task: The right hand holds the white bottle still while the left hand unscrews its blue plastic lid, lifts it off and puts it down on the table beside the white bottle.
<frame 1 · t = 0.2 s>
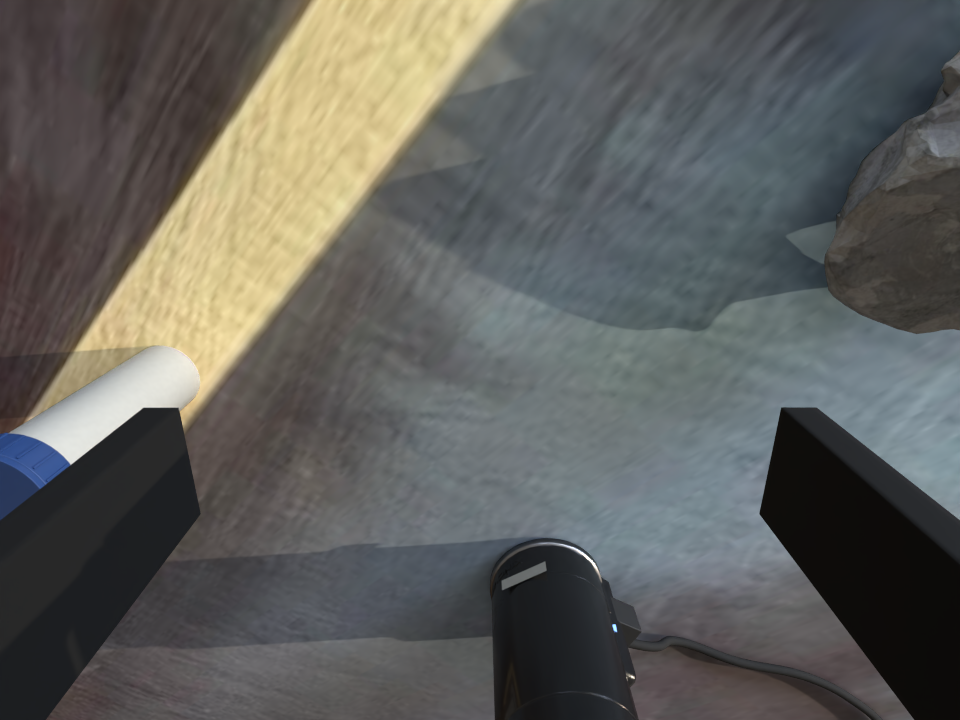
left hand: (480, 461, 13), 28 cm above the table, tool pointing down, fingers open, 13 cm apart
white bottle: (166, 376, 42), on the table
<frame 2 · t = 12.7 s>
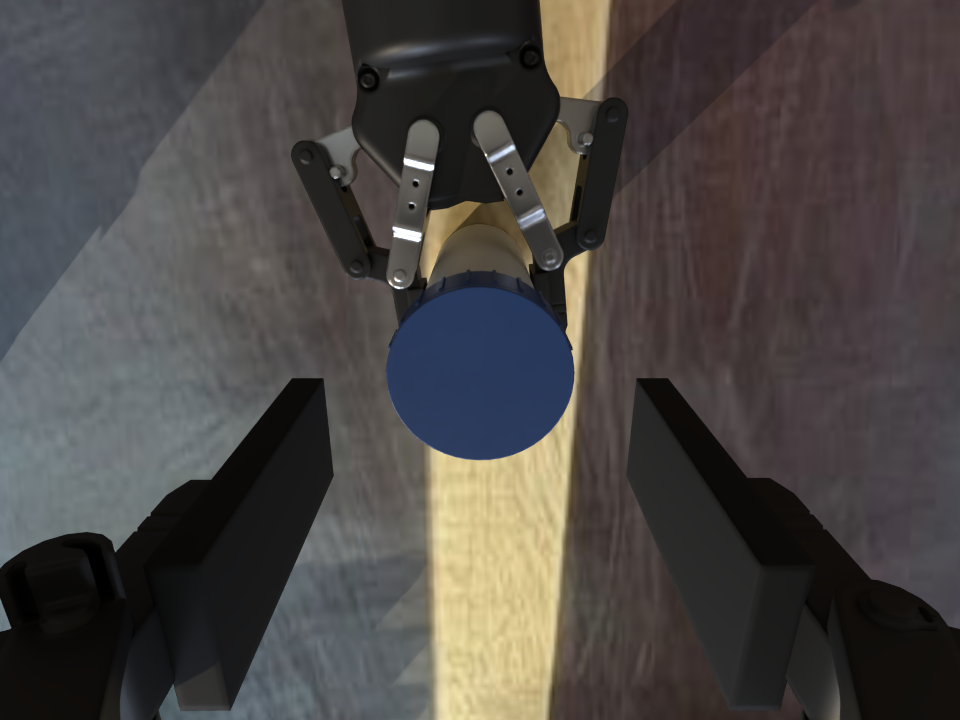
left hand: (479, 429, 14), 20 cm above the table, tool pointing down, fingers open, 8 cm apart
right hand: (486, 350, 27), fingers closed on white bottle, 5 cm apart
lid: (480, 374, 18), point 16 cm above the table, screwed on, not yet turned
white bottle: (479, 267, 32), on the table, touching right hand
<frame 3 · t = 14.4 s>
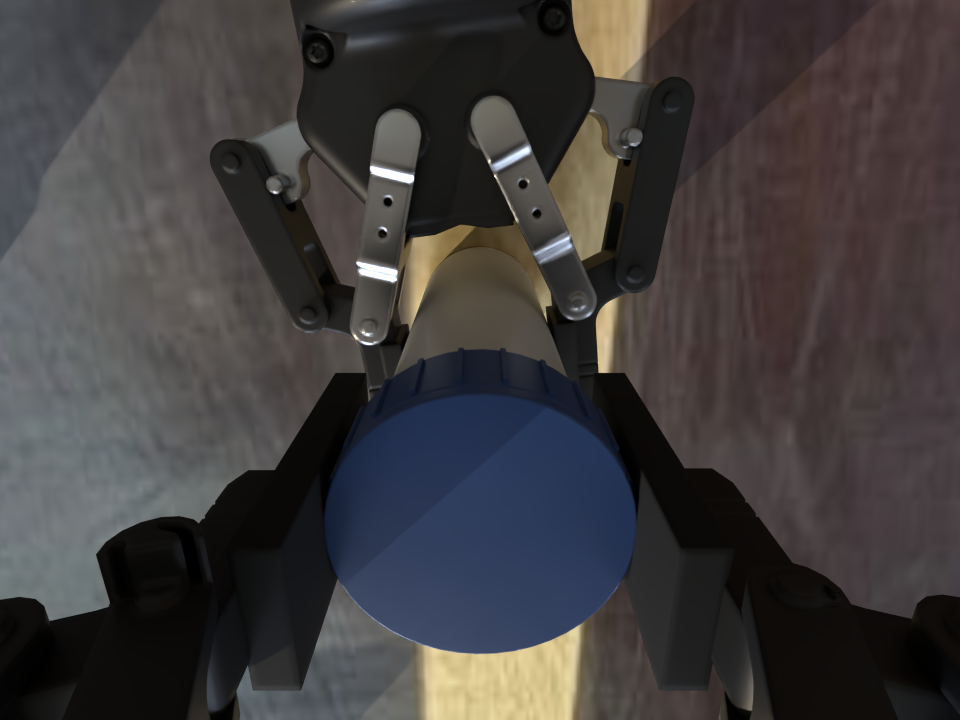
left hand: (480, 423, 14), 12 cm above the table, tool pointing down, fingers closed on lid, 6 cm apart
right hand: (488, 421, 20), fingers closed on white bottle, 5 cm apart
lid: (480, 524, 11), point 16 cm above the table, screwed on, not yet turned, touching left hand
white bottle: (480, 301, 26), on the table, touching right hand
when the left hand's fingers open (12 cm above the table, at t = 15.8 s): lid stays where it is, point 16 cm above the table.
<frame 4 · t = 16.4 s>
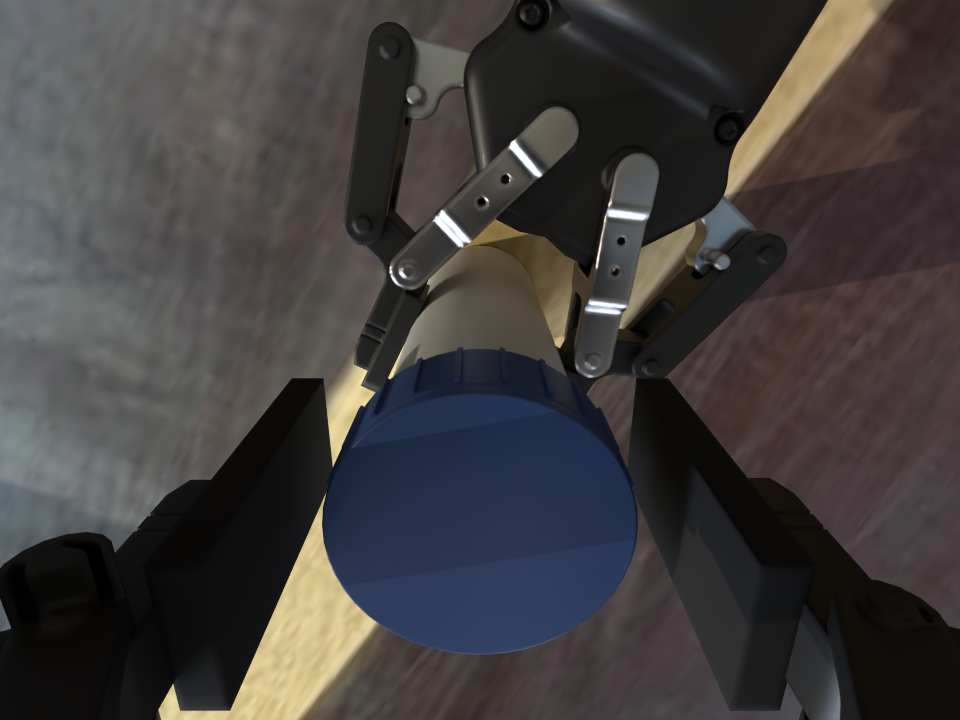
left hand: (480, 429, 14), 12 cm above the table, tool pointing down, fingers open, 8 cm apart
right hand: (446, 411, 20), fingers closed on white bottle, 5 cm apart
lid: (479, 524, 11), point 16 cm above the table, turned 83° so far, risen 0.2 cm, still on its thread
white bottle: (480, 300, 26), on the table, touching right hand
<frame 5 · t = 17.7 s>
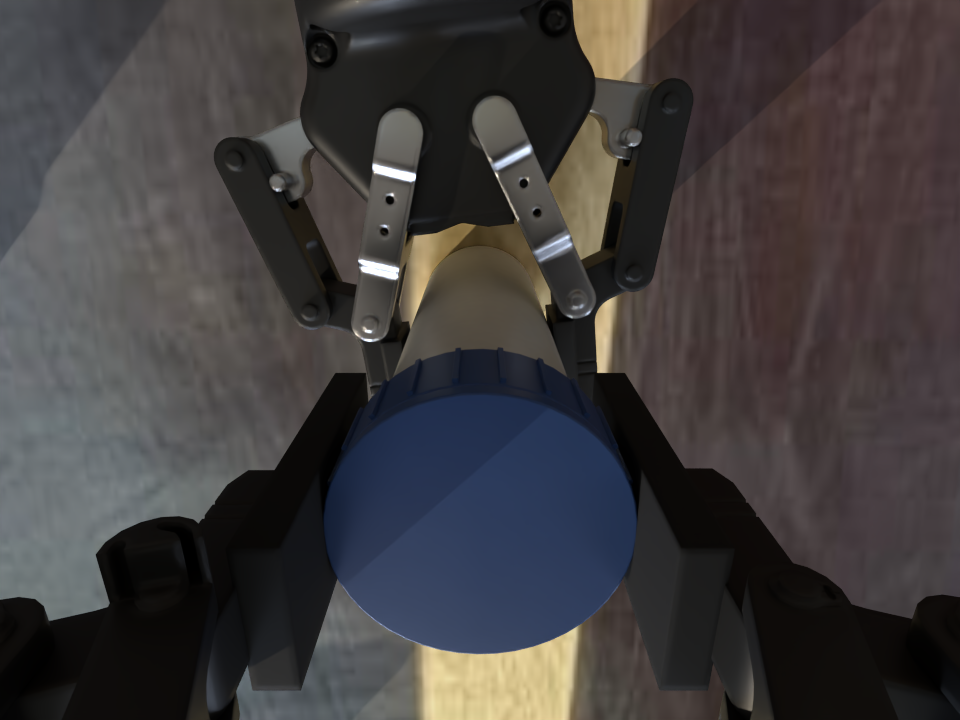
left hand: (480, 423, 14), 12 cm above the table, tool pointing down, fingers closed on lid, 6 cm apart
right hand: (488, 418, 20), fingers closed on white bottle, 5 cm apart
lid: (480, 524, 11), point 16 cm above the table, turned 83° so far, risen 0.2 cm, still on its thread, touching left hand
white bottle: (480, 300, 26), on the table, touching right hand
when the left hand's fingers open (0 cm above the table, at t = 23.4 s): lid drops 3 cm, point 2 cm above the table.
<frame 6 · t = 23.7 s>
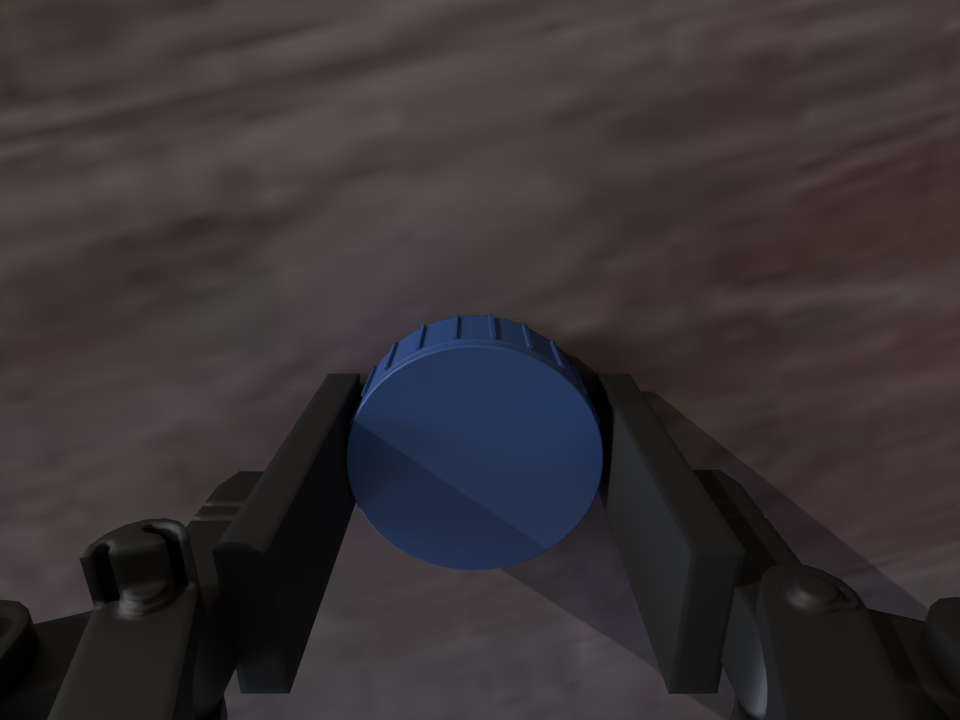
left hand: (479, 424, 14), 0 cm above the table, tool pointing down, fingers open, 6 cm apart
lid: (475, 459, 13), point 2 cm above the table, off its thread
when the right hand's fingers open (7 cm above the table, at t = 25.2 s): white bottle stays where it is, on the table.
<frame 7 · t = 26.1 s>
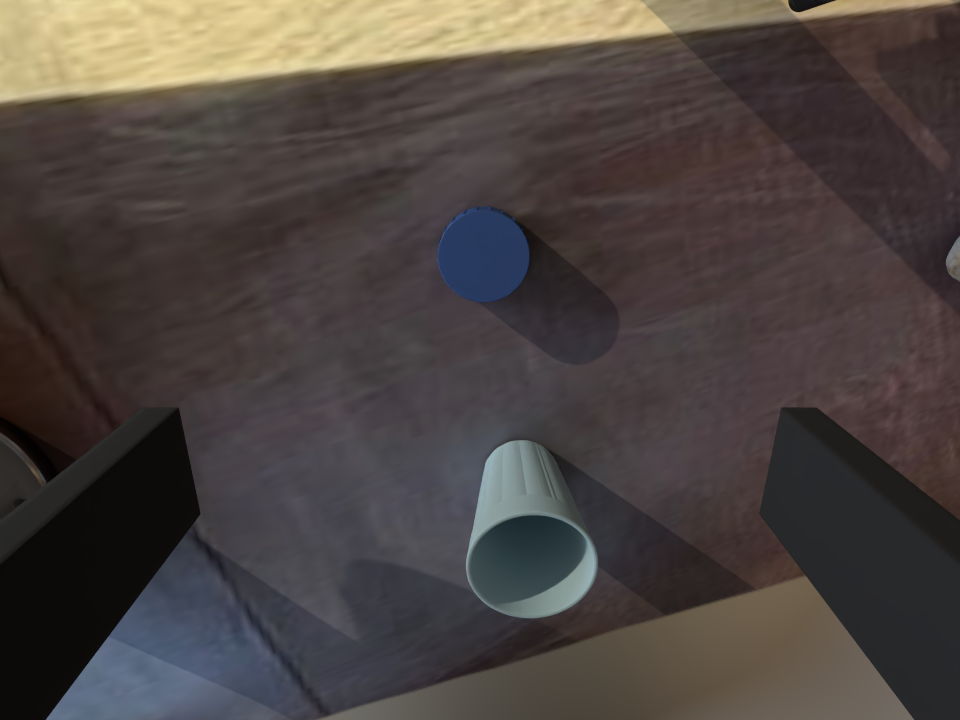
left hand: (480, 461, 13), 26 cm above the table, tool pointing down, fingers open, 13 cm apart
lid: (483, 256, 36), point 2 cm above the table, off its thread
cup: (520, 470, 43), on the table
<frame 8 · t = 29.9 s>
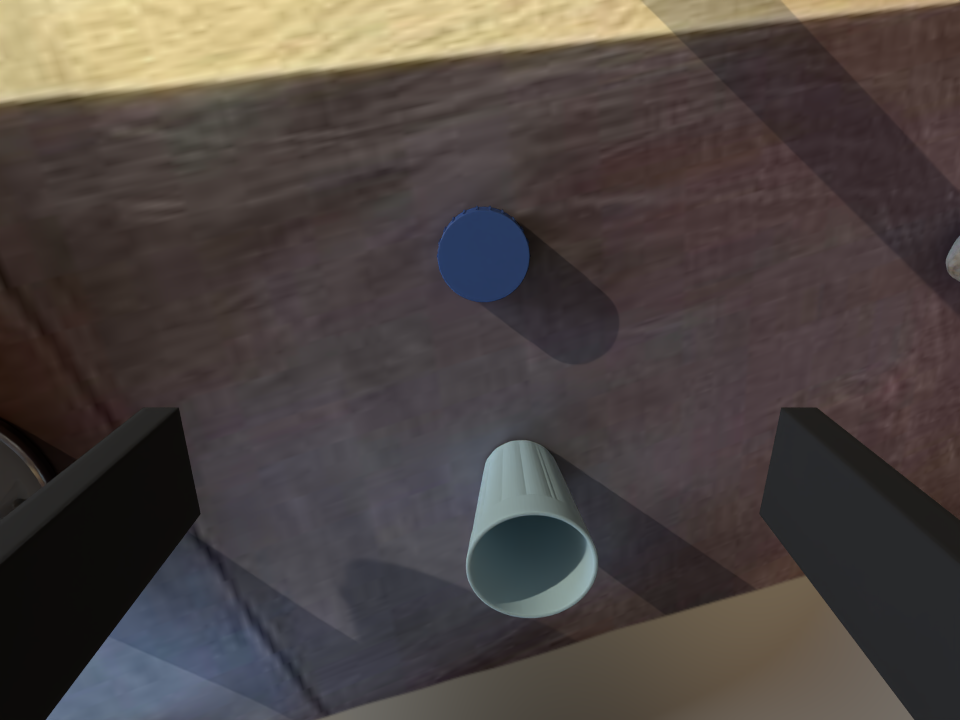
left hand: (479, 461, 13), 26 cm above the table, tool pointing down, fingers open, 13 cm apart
lid: (483, 256, 36), point 2 cm above the table, off its thread
cup: (520, 470, 43), on the table
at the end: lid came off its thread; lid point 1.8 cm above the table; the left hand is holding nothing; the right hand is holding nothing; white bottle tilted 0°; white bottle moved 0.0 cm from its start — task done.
